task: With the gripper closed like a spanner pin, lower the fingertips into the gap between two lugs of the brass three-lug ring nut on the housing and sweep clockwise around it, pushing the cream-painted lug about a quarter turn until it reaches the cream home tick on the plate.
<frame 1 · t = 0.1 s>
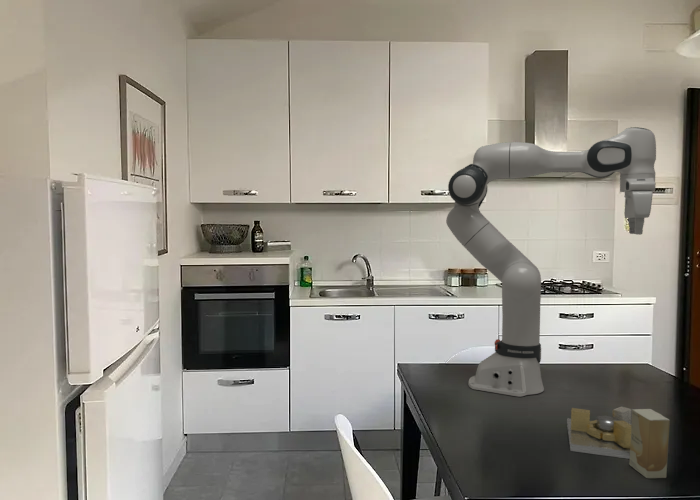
hand: (635, 234, 155), 48 cm above the table, tool pointing down, fingers open, 8 cm apart
skincare box: (647, 472, 111), on the table
ring nut: (602, 423, 127), point 4 cm above the table, hinge at 0.0°
housing: (607, 441, 127), on the table
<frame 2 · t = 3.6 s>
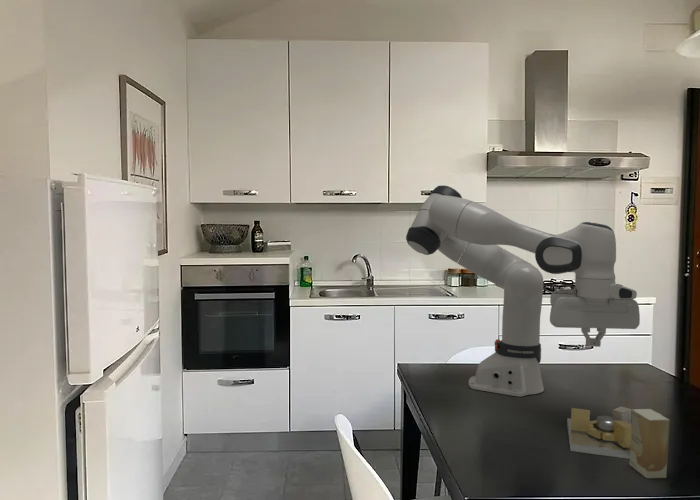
hand: (593, 346, 132), 21 cm above the table, tool pointing down, fingers closed
nothing on the table moved.
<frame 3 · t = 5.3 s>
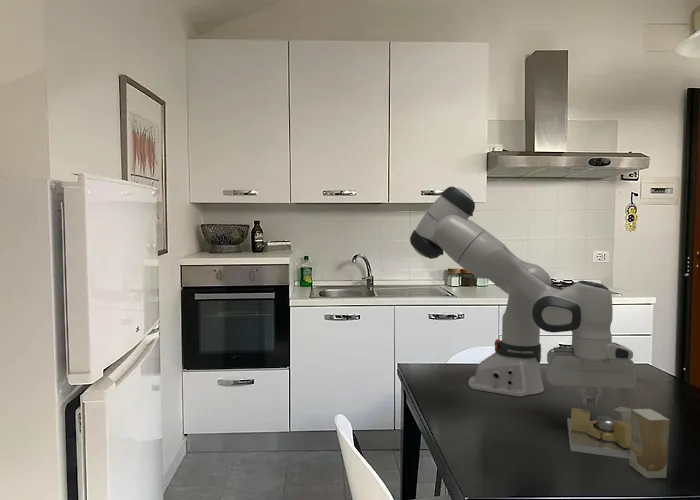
hand: (589, 404, 132), 7 cm above the table, tool pointing down, fingers closed
nothing on the table moved.
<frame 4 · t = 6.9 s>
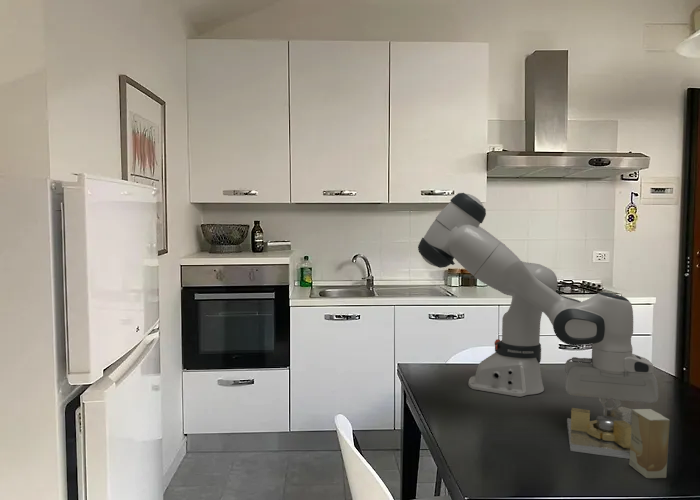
hand: (609, 416, 132), 4 cm above the table, tool pointing down, fingers closed
ring nut: (602, 423, 127), point 4 cm above the table, hinge at -0.4°, touching gripper
everything else where it was.
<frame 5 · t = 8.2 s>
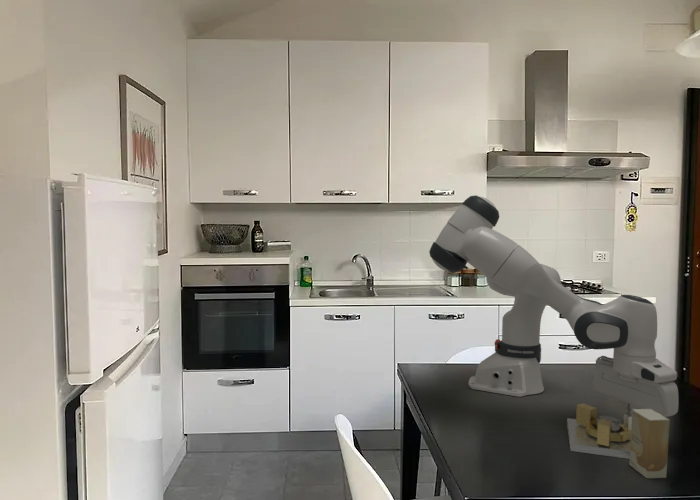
hand: (631, 421, 128), 4 cm above the table, tool pointing down, fingers closed, pressing on ring nut
ring nut: (602, 422, 127), point 4 cm above the table, hinge at -38.5°, touching gripper
everything else where it was.
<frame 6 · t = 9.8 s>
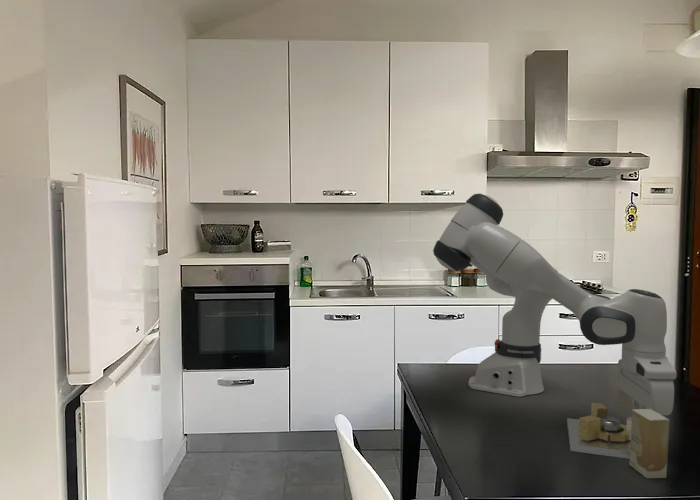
hand: (640, 419, 125), 6 cm above the table, tool pointing down, fingers closed
ring nut: (604, 421, 128), point 4 cm above the table, hinge at -71.3°, touching gripper
everything else where it was.
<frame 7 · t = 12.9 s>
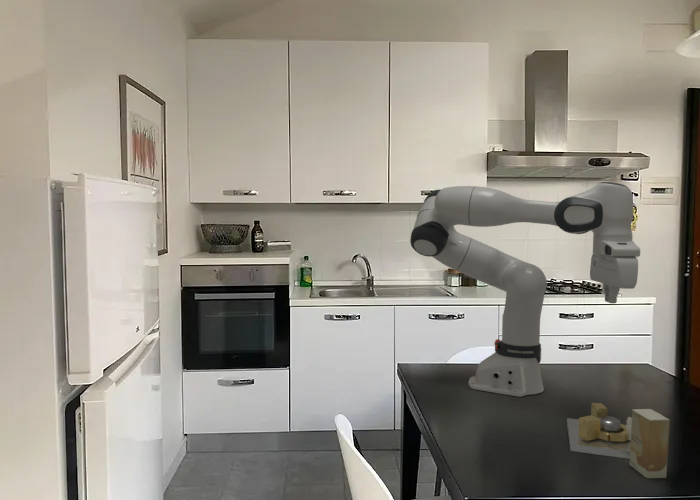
hand: (610, 302, 136), 31 cm above the table, tool pointing down, fingers closed
ring nut: (604, 421, 128), point 4 cm above the table, hinge at -71.4°
everything else where it was.
at the end: ring nut at -71° (first picture: +0°) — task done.
